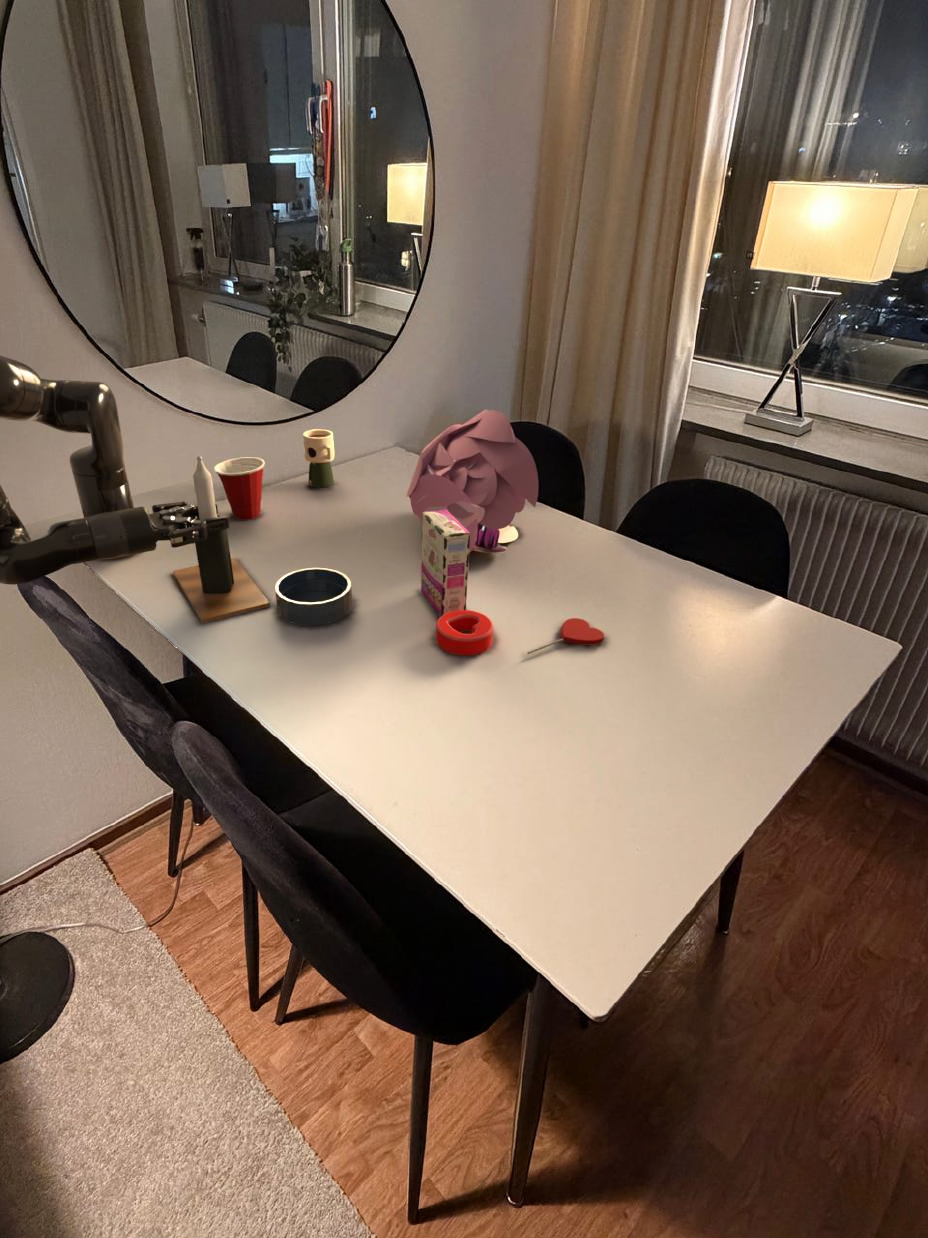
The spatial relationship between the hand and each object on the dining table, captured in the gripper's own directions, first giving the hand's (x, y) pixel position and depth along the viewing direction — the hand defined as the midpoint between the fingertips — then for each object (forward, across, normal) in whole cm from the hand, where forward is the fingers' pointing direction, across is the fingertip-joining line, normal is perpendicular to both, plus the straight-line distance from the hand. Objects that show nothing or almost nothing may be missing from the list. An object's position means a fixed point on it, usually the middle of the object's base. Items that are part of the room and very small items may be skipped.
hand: (222, 515), depth 130 cm
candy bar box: (+32, -24, +15) cm, 42 cm away
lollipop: (+43, -45, +14) cm, 64 cm away
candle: (-2, 0, +14) cm, 14 cm away
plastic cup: (+13, +31, +15) cm, 37 cm away
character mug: (+35, +40, +14) cm, 55 cm away
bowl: (+11, -14, +15) cm, 23 cm away
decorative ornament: (+29, -36, +15) cm, 48 cm away
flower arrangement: (+53, -1, +14) cm, 55 cm away
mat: (-2, 0, +15) cm, 15 cm away
